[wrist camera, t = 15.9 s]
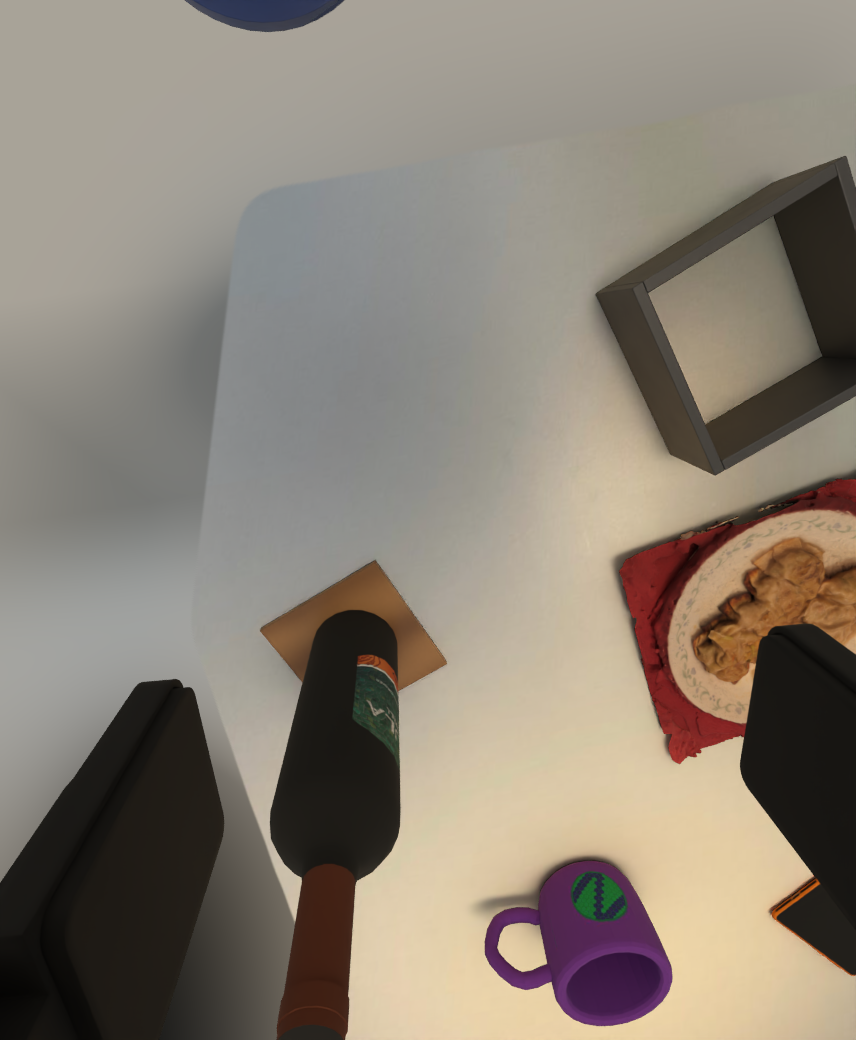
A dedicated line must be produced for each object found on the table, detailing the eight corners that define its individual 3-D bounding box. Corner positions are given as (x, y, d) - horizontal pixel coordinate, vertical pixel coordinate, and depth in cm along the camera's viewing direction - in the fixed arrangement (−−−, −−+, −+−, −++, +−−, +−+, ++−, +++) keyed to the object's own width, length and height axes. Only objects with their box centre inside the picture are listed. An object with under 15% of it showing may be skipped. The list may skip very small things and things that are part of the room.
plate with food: (610, 554, 51) (624, 571, 47) (902, 453, 48) (938, 463, 45) (666, 753, 59) (681, 779, 55) (919, 674, 57) (950, 696, 53)
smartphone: (819, 873, 65) (824, 880, 64) (898, 936, 69) (904, 943, 68) (766, 912, 66) (771, 919, 65) (847, 971, 70) (852, 979, 70)
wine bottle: (318, 603, 50) (221, 975, 21) (404, 616, 51) (421, 989, 22) (307, 677, 52) (205, 1102, 24) (389, 688, 53) (387, 1110, 24)
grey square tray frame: (595, 293, 43) (631, 288, 37) (774, 181, 42) (846, 154, 35) (670, 454, 48) (715, 476, 41) (834, 360, 46) (909, 366, 39)
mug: (635, 845, 62) (679, 939, 52) (630, 921, 65) (670, 1022, 56) (475, 862, 61) (490, 960, 52) (478, 937, 65) (493, 1042, 55)
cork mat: (260, 627, 51) (259, 630, 50) (375, 559, 49) (375, 562, 49) (337, 721, 54) (337, 725, 54) (446, 661, 53) (447, 664, 52)
